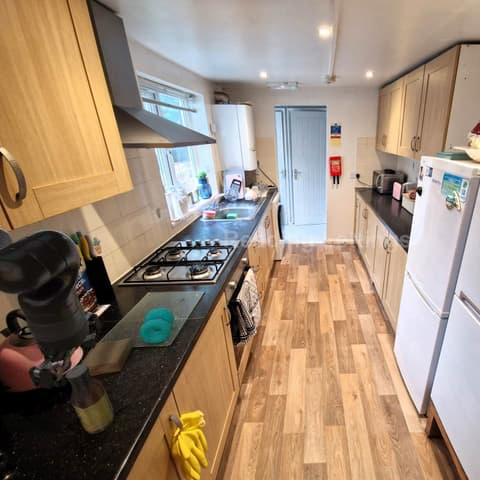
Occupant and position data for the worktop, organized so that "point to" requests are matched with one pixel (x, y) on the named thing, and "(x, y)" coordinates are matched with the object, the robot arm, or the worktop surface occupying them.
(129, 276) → the worktop surface
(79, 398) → the sauce bottle
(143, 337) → the donuts
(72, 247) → the robot arm
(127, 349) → the oak block
